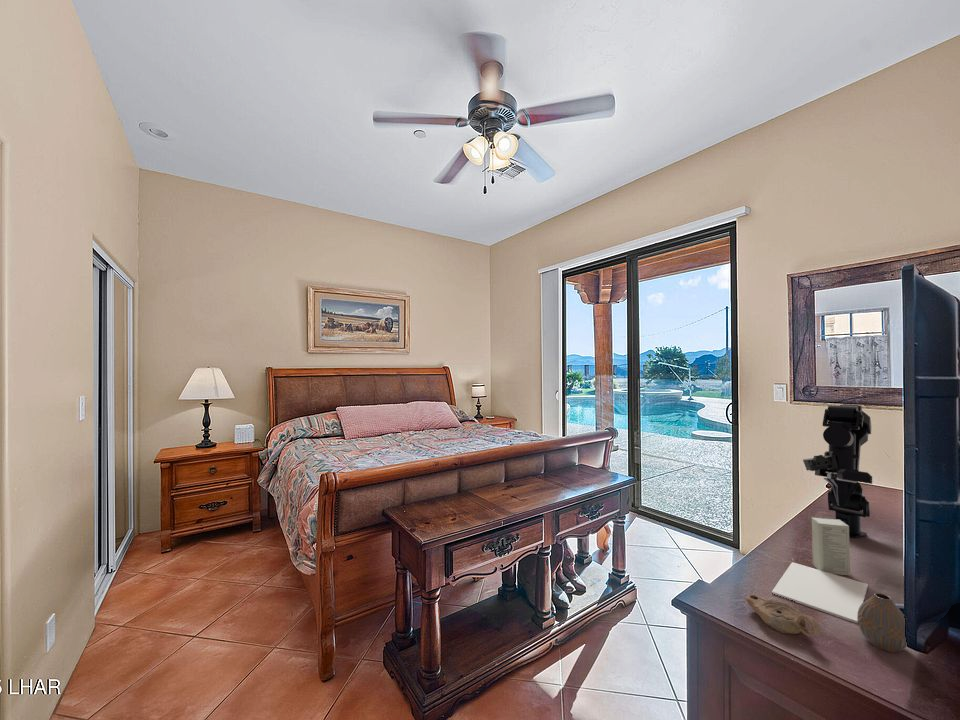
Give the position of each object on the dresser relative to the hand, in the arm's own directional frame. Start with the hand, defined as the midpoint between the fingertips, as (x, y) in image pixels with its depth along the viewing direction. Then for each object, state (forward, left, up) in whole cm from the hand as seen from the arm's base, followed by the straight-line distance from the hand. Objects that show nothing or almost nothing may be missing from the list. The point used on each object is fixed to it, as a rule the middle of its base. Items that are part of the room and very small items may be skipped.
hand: (840, 505), depth 113 cm
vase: (+40, +27, -12) cm, 49 cm away
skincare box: (+18, +7, -12) cm, 22 cm away
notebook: (+30, +12, -11) cm, 34 cm away
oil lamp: (+52, +17, -12) cm, 55 cm away
